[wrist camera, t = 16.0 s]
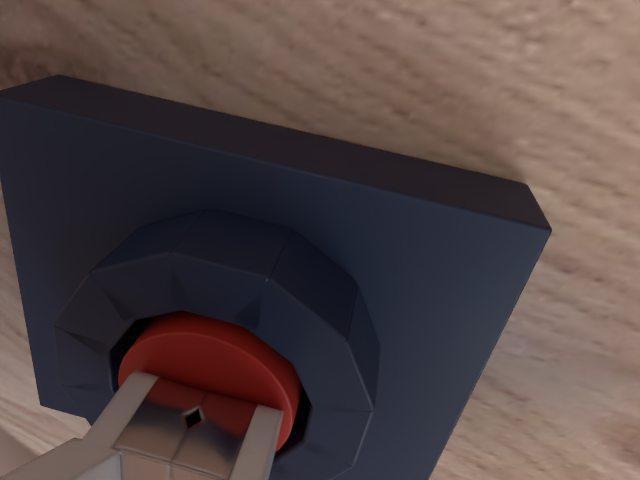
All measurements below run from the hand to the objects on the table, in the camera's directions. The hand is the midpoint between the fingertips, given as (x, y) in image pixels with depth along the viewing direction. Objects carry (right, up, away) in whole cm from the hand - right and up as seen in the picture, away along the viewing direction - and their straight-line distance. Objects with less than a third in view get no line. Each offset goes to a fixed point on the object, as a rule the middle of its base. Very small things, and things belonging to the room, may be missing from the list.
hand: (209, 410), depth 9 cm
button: (0, +1, +2) cm, 2 cm away
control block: (+1, +2, +4) cm, 4 cm away
